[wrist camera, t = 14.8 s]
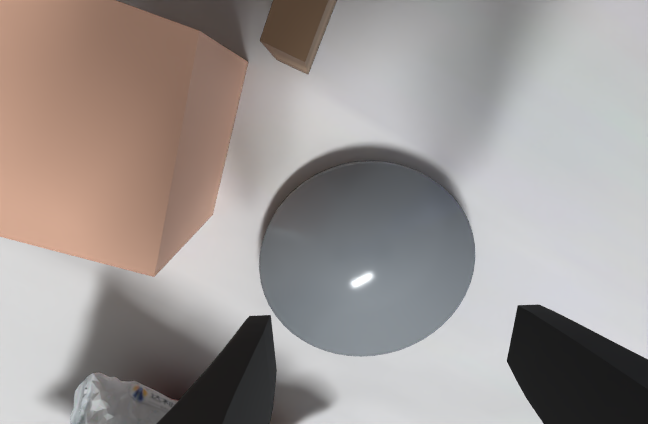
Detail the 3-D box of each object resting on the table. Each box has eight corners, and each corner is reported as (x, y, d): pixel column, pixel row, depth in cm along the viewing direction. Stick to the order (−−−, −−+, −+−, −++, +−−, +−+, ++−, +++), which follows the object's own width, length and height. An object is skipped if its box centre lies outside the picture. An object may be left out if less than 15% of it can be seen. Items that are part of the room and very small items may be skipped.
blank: (248, 62, 11) (199, 30, 6) (213, 214, 13) (154, 276, 8) (133, 20, 11) (-12, -46, 6) (113, 184, 12) (-12, 233, 8)
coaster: (509, 212, 13) (518, 217, 13) (406, 369, 16) (410, 379, 15) (310, 122, 12) (309, 123, 11) (233, 310, 14) (230, 319, 14)
